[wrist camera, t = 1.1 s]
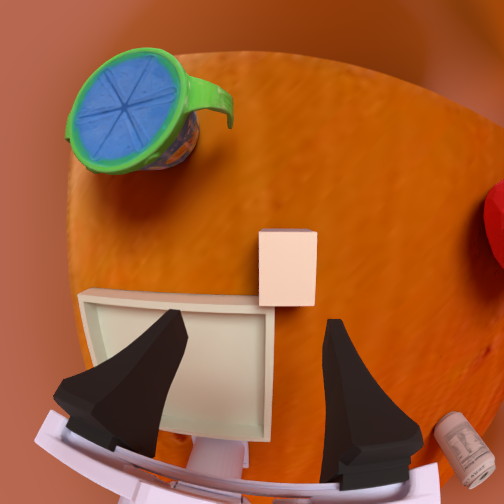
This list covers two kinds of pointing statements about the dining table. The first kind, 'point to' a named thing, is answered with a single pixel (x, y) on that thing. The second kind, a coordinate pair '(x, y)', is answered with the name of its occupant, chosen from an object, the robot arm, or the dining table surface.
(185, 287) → the dining table surface
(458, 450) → the energy drink can
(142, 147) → the snack cup
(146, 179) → the dining table surface
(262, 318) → the white square tray
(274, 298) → the pale pink block
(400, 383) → the dining table surface
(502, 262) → the tomato
